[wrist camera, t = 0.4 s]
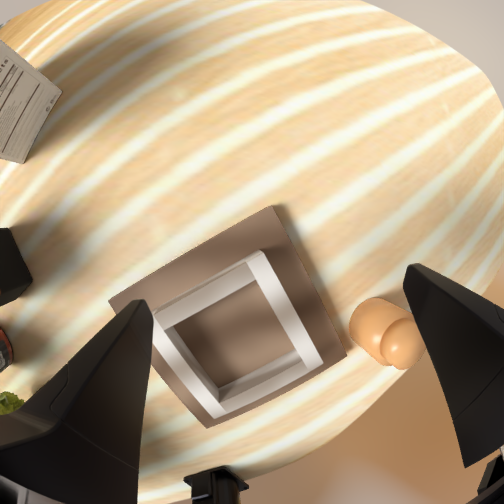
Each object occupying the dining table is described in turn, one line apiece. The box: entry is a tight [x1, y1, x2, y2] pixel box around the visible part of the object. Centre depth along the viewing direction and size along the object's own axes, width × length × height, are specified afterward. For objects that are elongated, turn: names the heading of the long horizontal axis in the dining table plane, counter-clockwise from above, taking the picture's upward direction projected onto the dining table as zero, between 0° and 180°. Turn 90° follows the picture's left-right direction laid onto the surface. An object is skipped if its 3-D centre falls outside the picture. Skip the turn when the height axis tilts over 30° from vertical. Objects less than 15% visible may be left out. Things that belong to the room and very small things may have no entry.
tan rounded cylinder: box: [349, 298, 426, 370], centre depth 22 cm, size 5×5×7 cm
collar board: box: [108, 205, 347, 429], centre depth 22 cm, size 16×16×4 cm
